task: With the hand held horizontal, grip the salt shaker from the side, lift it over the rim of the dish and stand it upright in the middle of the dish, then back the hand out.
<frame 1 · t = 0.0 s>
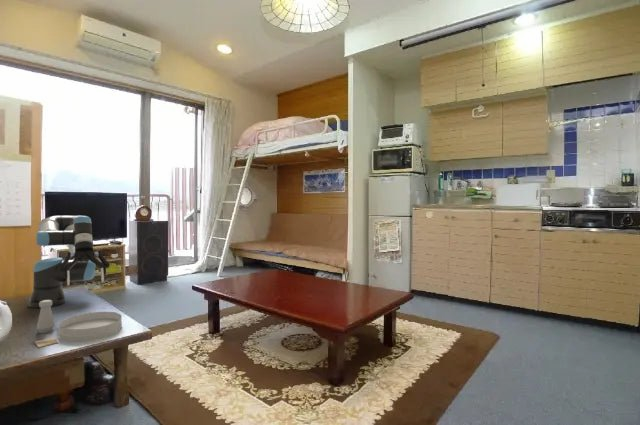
hand: (86, 282, 162), 15 cm above the table, tool tilted 35°, fingers open, 13 cm apart
salt shaker: (45, 332, 140), on the table
cork coaster: (46, 343, 129), on the table
dish: (91, 331, 143), on the table
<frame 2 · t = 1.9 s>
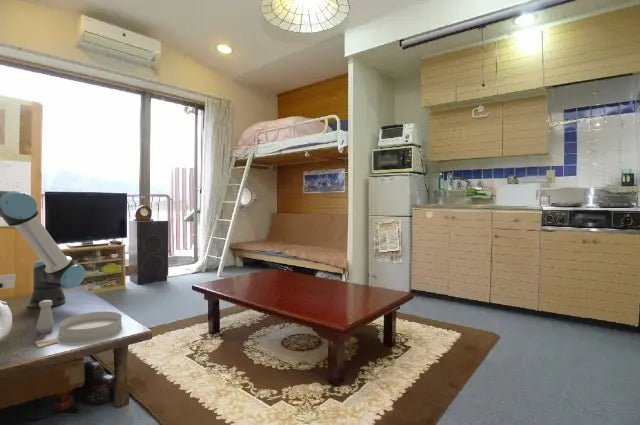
hand: (15, 280, 137), 21 cm above the table, tool horizontal, fingers open, 13 cm apart
nothing on the table moved.
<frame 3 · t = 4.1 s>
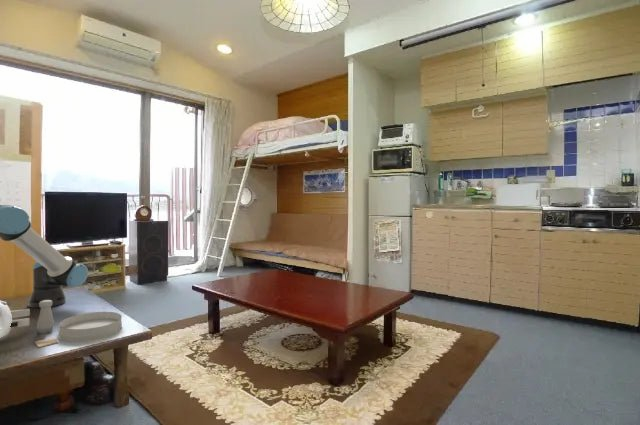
hand: (29, 316, 136), 7 cm above the table, tool horizontal, fingers open, 13 cm apart
nothing on the table moved.
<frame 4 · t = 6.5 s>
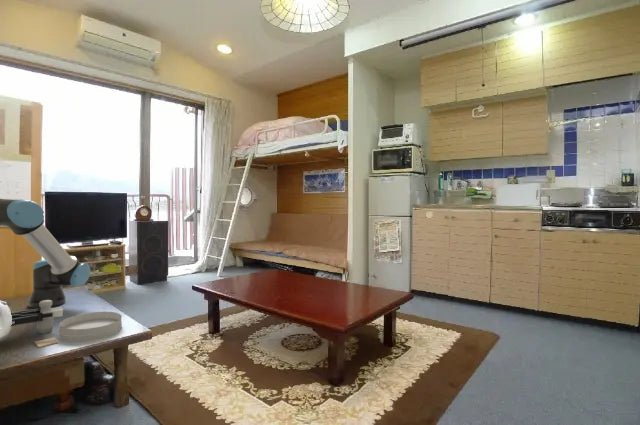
hand: (62, 311, 143), 8 cm above the table, tool horizontal, fingers closed on salt shaker, 3 cm apart
salt shaker: (45, 332, 140), on the table, touching gripper
everything else where it was.
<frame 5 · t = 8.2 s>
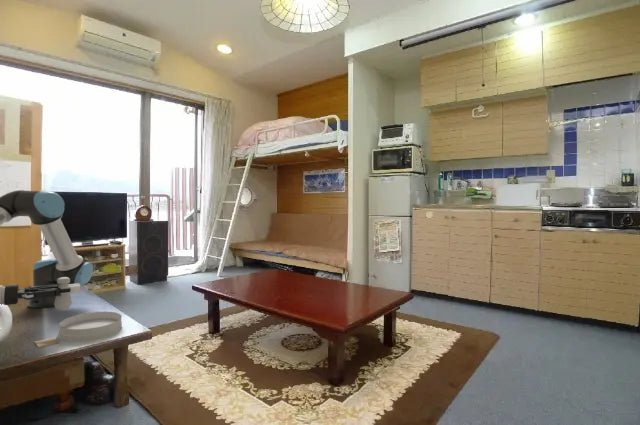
hand: (79, 287, 143), 18 cm above the table, tool horizontal, fingers closed on salt shaker, 3 cm apart
salt shaker: (62, 309, 139), point 10 cm above the table, touching gripper
everything else where it was.
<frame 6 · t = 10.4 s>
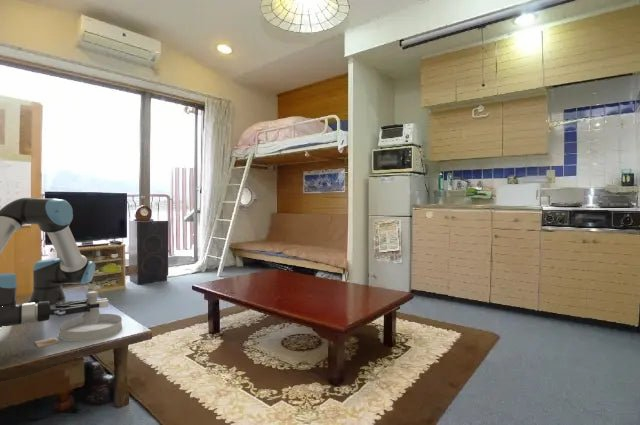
hand: (107, 302, 146), 11 cm above the table, tool horizontal, fingers closed on salt shaker, 3 cm apart
salt shaker: (91, 322, 143), point 3 cm above the table, touching dish, gripper
dish: (91, 334, 143), on the table, touching salt shaker
when the fingers open (11 cm above the table, at t = 10.7 s): salt shaker stays where it is, point 4 cm above the table.
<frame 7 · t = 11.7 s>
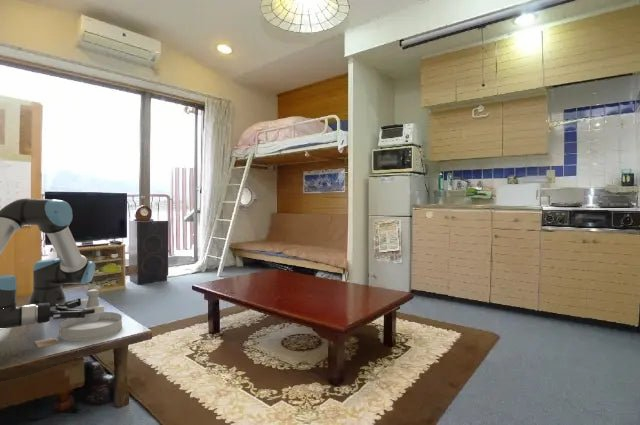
hand: (101, 304, 145), 10 cm above the table, tool horizontal, fingers open, 13 cm apart
salt shaker: (92, 320, 143), point 4 cm above the table
dish: (91, 332, 143), on the table
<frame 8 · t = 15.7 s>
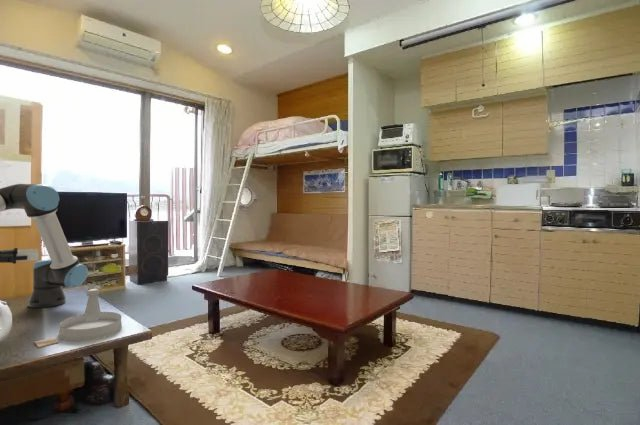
hand: (38, 254, 140), 32 cm above the table, tool horizontal, fingers open, 13 cm apart
salt shaker: (92, 320, 143), point 4 cm above the table, touching dish
dish: (91, 332, 143), on the table, touching salt shaker
at the end: salt shaker 0.2 cm from the dish (horizontally); salt shaker tilted 1°; salt shaker point 4.2 cm above the table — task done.
